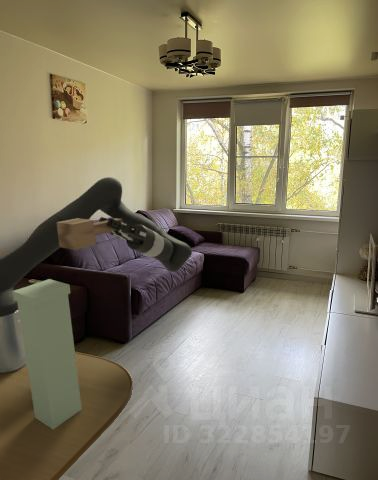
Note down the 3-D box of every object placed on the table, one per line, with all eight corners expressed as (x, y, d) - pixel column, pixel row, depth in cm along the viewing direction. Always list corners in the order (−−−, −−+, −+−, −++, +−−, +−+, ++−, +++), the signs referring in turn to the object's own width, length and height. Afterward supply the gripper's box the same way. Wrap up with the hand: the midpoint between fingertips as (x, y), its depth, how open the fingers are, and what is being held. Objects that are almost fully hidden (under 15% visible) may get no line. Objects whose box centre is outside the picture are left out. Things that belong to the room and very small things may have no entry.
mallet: (59, 246, 88) (56, 222, 87) (112, 233, 102) (110, 211, 100) (75, 249, 85) (72, 224, 84) (128, 235, 98) (126, 213, 97)
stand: (32, 418, 87) (12, 291, 80) (64, 397, 94) (49, 279, 87) (51, 431, 83) (32, 298, 75) (84, 408, 90) (69, 284, 82)
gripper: (132, 227, 113) (91, 206, 100) (167, 231, 105) (127, 209, 92) (125, 250, 112) (82, 232, 98) (160, 256, 104) (118, 237, 90)
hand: (104, 221), depth 95 cm, fingers closed on mallet, 2 cm apart
